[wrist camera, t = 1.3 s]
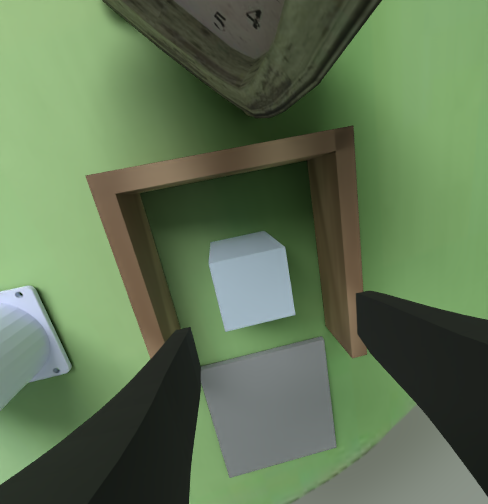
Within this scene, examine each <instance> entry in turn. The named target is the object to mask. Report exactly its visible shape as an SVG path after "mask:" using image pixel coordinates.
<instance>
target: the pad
mask: <svg viewBox="0 0 488 504" xmlns="http://www.w3.org/2000/svg"><path fill="white" fill-rule="evenodd" d="M201 384H202V387H203V390H204V394H205V397H206V400H207V404H208V407H209V411H210V414H211V417H212V421H213V424H214V427H215V431H216V434H217V438H218V441H219V444H220V448H221V451H222V454H223V458H224V461H225V464H226V468H227V471H228V475H229V478H231V477H234V476H238V475H241V474H245V473H248V472H252V471H255V470H259V469H262V468H266V467H269V466H273V465H276V464H280V463H283V462H287V461H290V460H294V459H298V458H301V457H305V456H308V455H312V454H315V453H319V452H322V451H326V450H329V449H333V448H336V439H335V430H334V422H333V413H332V404H331V396H330V387H329V379H328V370H327V361H326V353H325V344H324V339H323V337H322V336H321V337H317V338H313V339H309V340H305V341H301V342H297V343H293V344H289V345H285V346H281V347H277V348H273V349H269V350H265V351H261V352H257V353H253V354H249V355H245V356H241V357H237V358H233V359H229V360H225V361H221V362H217V363H213V364H209V365H205V366H201Z"/></svg>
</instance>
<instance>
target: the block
mask: <svg viewBox="0 0 488 504" xmlns="http://www.w3.org/2000/svg"><path fill="white" fill-rule="evenodd" d="M209 267H210V271H211V275H212V279H213V283H214V287H215V291H216V296H217V300H218V304H219V308H220V312H221V316H222V320H223V324H224V328H225V332H226V331H230V330H235V329H239V328H243V327H247V326H251V325H255V324H259V323H264V322H268V321H272V320H276V319H280V318H284V317H288V316H293V315H295V309H294V303H293V296H292V289H291V283H290V276H289V269H288V263H287V256H286V250H285V246H283V245H282V244H281V243H279V242H278V241H277V240H276V239H274V238H273V237H272V236H270V235H269V234H268V233H267V232H265V231H260V232H256V233H251V234H246V235H242V236H237V237H232V238H228V239H223V240H219V241H214V242H210V254H209Z"/></svg>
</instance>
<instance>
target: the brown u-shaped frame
mask: <svg viewBox="0 0 488 504" xmlns="http://www.w3.org/2000/svg"><path fill="white" fill-rule="evenodd" d="M302 161H307V164H308V173H309V182H310V191H311V200H312V209H313V218H314V227H315V236H316V245H317V254H318V263H319V272H320V281H321V290H322V298H323V307H324V316H325V325H326V327H327V328H328V330H329V331H330V332H331V333H332V334H333V336H334V337H335V338H336V339H337V340H338V342H339V343H340V344H341V345H342V346H343V348H344V349H345V350H346V351H347V353H348V354H349V355H350V356H351V357H352V358H355V357H359V356H363V355H367V347H366V346H365V345H364V343H363V342H362V340H361V339H360V337H359V336H358V334H357V314H356V293H360V292H363V279H362V262H361V246H360V229H359V212H358V195H357V179H356V162H355V145H354V128H353V126H348V127H342V128H337V129H332V130H326V131H321V132H316V133H310V134H305V135H300V136H294V137H289V138H284V139H278V140H273V141H268V142H262V143H257V144H252V145H246V146H241V147H236V148H230V149H225V150H220V151H214V152H209V153H204V154H198V155H193V156H188V157H182V158H177V159H172V160H166V161H161V162H156V163H151V164H145V165H140V166H135V167H129V168H124V169H119V170H113V171H108V172H103V173H97V174H92V175H87V176H86V179H87V182H88V184H89V187H90V190H91V193H92V196H93V198H94V201H95V204H96V207H97V210H98V212H99V215H100V218H101V221H102V224H103V226H104V229H105V232H106V235H107V238H108V240H109V243H110V246H111V249H112V252H113V255H114V257H115V260H116V263H117V266H118V269H119V271H120V274H121V277H122V280H123V283H124V285H125V288H126V291H127V294H128V297H129V299H130V302H131V305H132V308H133V311H134V313H135V316H136V319H137V322H138V325H139V327H140V330H141V333H142V336H143V339H144V341H145V344H146V347H147V350H148V353H149V355H150V358H152V357H153V356H154V355H155V354H156V352H157V351H158V350H159V349H160V348H161V347H162V345H163V344H164V343H165V342H166V341H167V339H168V338H169V337H170V336H171V335H172V334H173V333H174V331H175V330H179V329H181V328H180V325H179V321H178V318H177V315H176V311H175V308H174V305H173V302H172V298H171V295H170V292H169V288H168V285H167V282H166V278H165V275H164V272H163V268H162V265H161V262H160V259H159V255H158V252H157V249H156V245H155V242H154V239H153V235H152V232H151V229H150V226H149V222H148V219H147V216H146V212H145V209H144V206H143V202H142V199H141V196H140V193H143V192H149V191H154V190H159V189H164V188H169V187H174V186H179V185H184V184H189V183H195V182H200V181H205V180H210V179H215V178H220V177H225V176H230V175H235V174H241V173H246V172H251V171H256V170H261V169H266V168H271V167H276V166H281V165H287V164H292V163H297V162H302Z"/></svg>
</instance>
